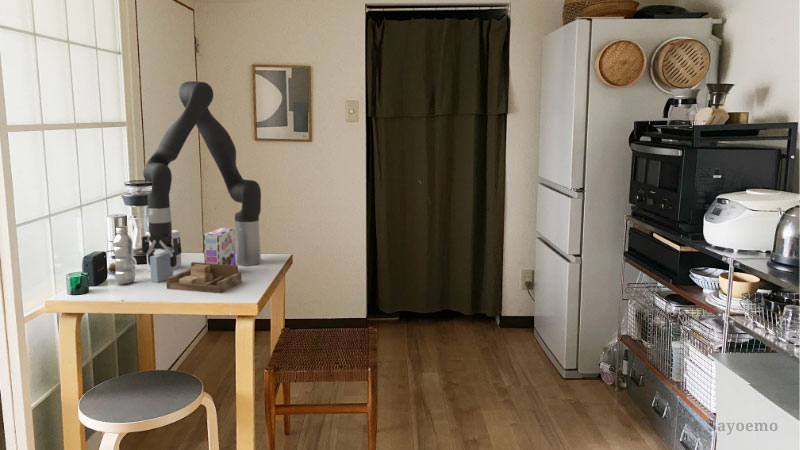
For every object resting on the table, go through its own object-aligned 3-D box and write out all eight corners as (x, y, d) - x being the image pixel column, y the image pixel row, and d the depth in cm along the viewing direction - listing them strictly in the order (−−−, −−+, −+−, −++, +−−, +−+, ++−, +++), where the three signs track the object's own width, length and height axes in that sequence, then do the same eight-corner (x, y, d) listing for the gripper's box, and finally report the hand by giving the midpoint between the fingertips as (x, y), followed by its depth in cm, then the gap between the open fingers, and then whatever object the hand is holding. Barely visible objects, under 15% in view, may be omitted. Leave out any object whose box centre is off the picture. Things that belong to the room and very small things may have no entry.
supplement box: (146, 271, 243) (144, 232, 240) (163, 266, 251) (161, 228, 248) (165, 273, 239) (163, 234, 237) (182, 268, 248) (180, 230, 245)
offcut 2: (196, 272, 225) (196, 264, 224) (210, 273, 224) (209, 264, 224) (190, 275, 220) (190, 267, 220) (204, 276, 220) (204, 267, 219)
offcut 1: (187, 284, 220) (186, 276, 220) (199, 286, 219) (198, 277, 218) (179, 287, 217) (178, 279, 216) (191, 289, 215) (191, 280, 214)
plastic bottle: (140, 282, 228) (136, 226, 224) (126, 286, 221) (122, 229, 218) (125, 280, 230) (121, 225, 226) (111, 285, 223) (106, 228, 220)
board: (167, 278, 232) (165, 251, 231) (173, 279, 232) (171, 252, 230) (151, 285, 224) (149, 256, 222) (157, 285, 223) (156, 257, 221)
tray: (190, 281, 229) (189, 261, 228) (241, 285, 224) (240, 265, 223) (166, 291, 216) (165, 271, 214) (220, 296, 210) (219, 275, 209)
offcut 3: (197, 280, 226) (197, 272, 225) (212, 281, 224) (212, 273, 224) (189, 284, 221) (188, 275, 221) (204, 285, 219) (204, 276, 219)
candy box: (219, 279, 232) (217, 234, 229) (204, 278, 233) (202, 233, 230) (236, 270, 245) (235, 227, 242) (222, 269, 246) (220, 227, 243)
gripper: (184, 219, 226) (186, 264, 229) (149, 217, 230) (151, 262, 233) (171, 223, 219) (173, 269, 222) (135, 221, 223) (138, 266, 226)
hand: (162, 265), depth 227 cm, fingers open, 8 cm apart
